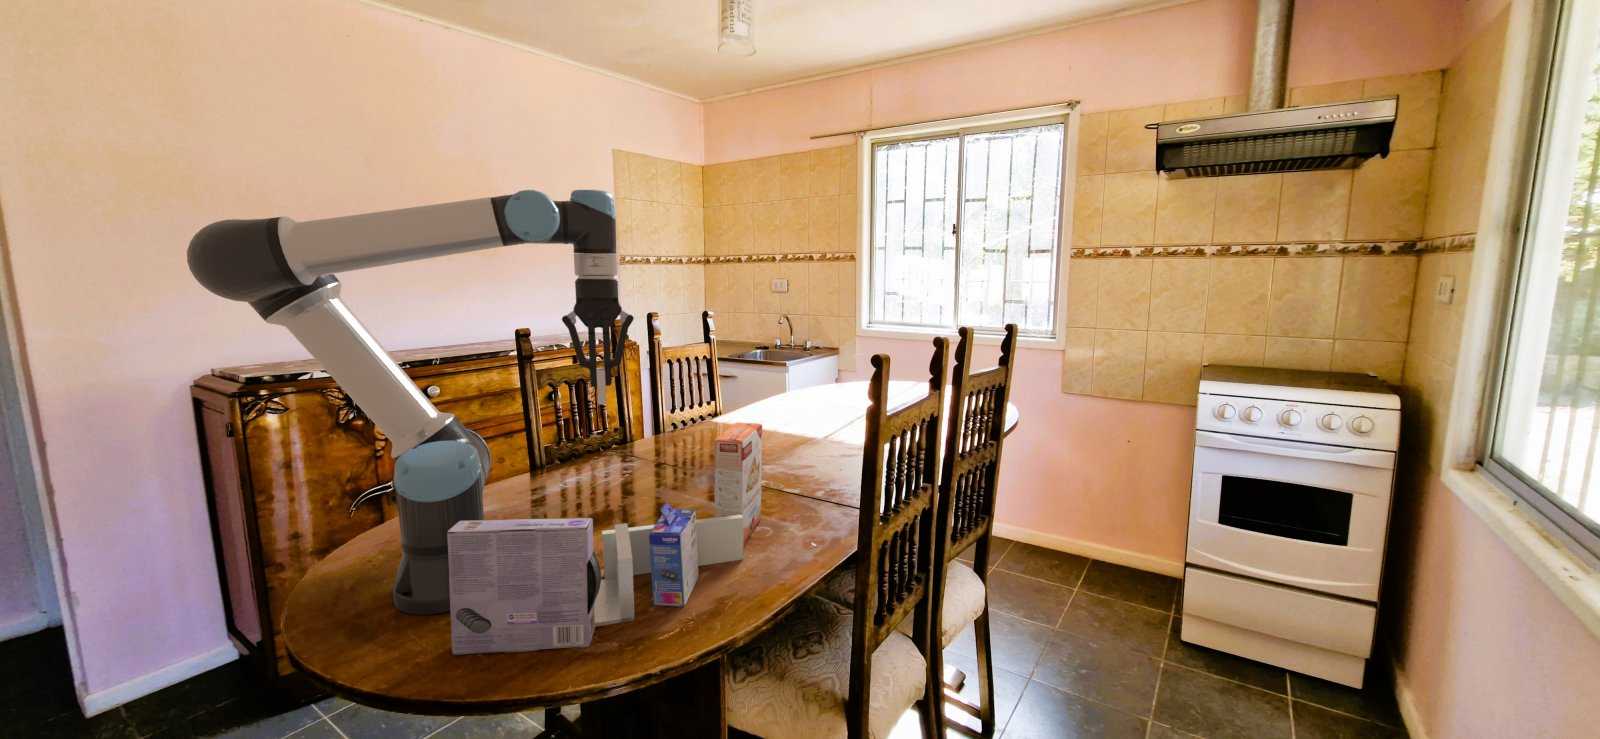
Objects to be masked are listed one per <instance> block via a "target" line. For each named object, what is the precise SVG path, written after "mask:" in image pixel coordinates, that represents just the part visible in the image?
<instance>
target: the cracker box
mask: <svg viewBox="0 0 1600 739" xmlns="http://www.w3.org/2000/svg"><path fill="white" fill-rule="evenodd" d="M762 444H763V424H762V423H755V422H754V423H753V422H740V421H739V422H735V423H734V424H733V425H731V426H730V427H729V428H727V429H726V430H725V431H724V432H722V433H721V434H720V435H719V436H718V437H716V438H715V439H714V518H716V517H724V516H732V515H742V516H743V546H744V545H745V543H746V542H747V540H748V539H749V537H750V535H751V534H752V533H753V531H754V530H755V528H756V527H757V525H758V524H759V522H760V521H761V520H762V518H761V517H762V516H761V515H762V513H761V512H762V458H763V457H762V452H763V451H762V450H763V448H762V447H763V445H762Z"/></svg>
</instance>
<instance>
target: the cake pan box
mask: <svg viewBox="0 0 1600 739" xmlns="http://www.w3.org/2000/svg"><path fill="white" fill-rule="evenodd" d="M447 538H448V559H449V591H450V611H449V613H450V634H451V635H450V636H451V637H450V638H451V652H452V655H453V656H461V655H462V656H463V655H473V654H487V653H503V652H504V653H508V654H509V653H524V652H537V651H539V650H549V649H550V650H551V649H563V648H564V649H566V648H567V649H569V648H589V647H590V645H591V642H592V639H593V636H594V634H595V630H596V627H595V614H594V603H595V600H596V597H597V595H598V592H599V589H600V584H601V580H602V570H601V566H600V565H601V564H600V562H599V558H598V556H597V555H596V554H597V553H596V552H595V550H594V519H593V518H592V517H576V518H575V517H573V518H571V517H570V518H522V519H521V518H520V519H517V518H515V519H490V520H489V519H487V520H485V519H484V520H477V521H459V522H458V523H457V524H455V525H454V526H453V527H452V528H451V529H450V530H449V531H448V534H447Z"/></svg>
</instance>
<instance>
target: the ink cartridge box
mask: <svg viewBox="0 0 1600 739" xmlns="http://www.w3.org/2000/svg"><path fill="white" fill-rule="evenodd" d="M659 512H660V513H661V516H660V517H659V519H658V520H657V522H656V523H655V524H654V525H655V526H654V527H653V529H652V530H651V532H650V533H649V544H650V559H651V585H652V600H653V605H654V606H667V607H681V608H682V607H684V606H686V605H687V602H688V599H689V597H690V595H691V594H692V592H693V589H694V587H695V586H696V583H697V580H698V578H699V566H698V555H697V532H696V520H697V516H696V514H697V512H696V509H687V508H686V509H679V508H672V507H671V505H670V504H669V503H668V502H665V504H664V505H662V507H661V509H660V511H659Z"/></svg>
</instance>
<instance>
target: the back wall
mask: <svg viewBox="0 0 1600 739" xmlns="http://www.w3.org/2000/svg"><path fill="white" fill-rule="evenodd" d="M655 525H656V524H649V525H642V526H641V525H639V526H633V527H628V531H629V538H630V545H631V552H632V563H633V576H637V575H643V574H650V573H651V559H650V544H649V533H650V532H651V530H652V529H653V527H654V526H655ZM601 532H602V533H601V534H602V550H603V551H602V553H603V554H602V555H603V556H602V557H603V573H604V575H603V576H604V579H611V578H617V565H616V541H615V528H614V529H607V530H602V531H601ZM696 532H697V555H698V567H701V566H707V565H713V564H721V563H727V562H728V563H729V562H735V561H742V560H744V545H743V516H742V515H732V516H724V517H716V518H715V517H709V518H700V519H696ZM604 579H603V580H604Z"/></svg>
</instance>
